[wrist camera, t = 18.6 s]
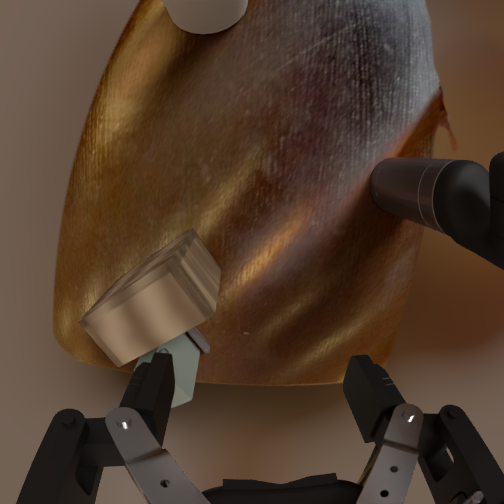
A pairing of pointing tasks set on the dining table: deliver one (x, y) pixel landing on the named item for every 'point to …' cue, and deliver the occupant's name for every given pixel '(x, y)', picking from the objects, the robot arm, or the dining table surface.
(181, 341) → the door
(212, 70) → the dining table surface
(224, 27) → the can
